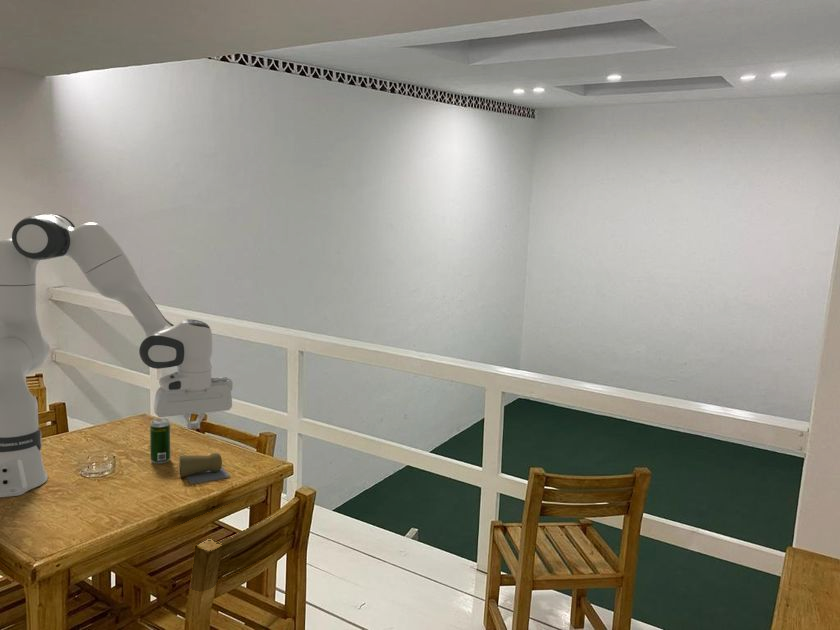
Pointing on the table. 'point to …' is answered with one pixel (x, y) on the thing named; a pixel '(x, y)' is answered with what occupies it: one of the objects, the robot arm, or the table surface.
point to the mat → (207, 476)
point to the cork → (199, 464)
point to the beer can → (160, 441)
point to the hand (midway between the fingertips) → (193, 428)
